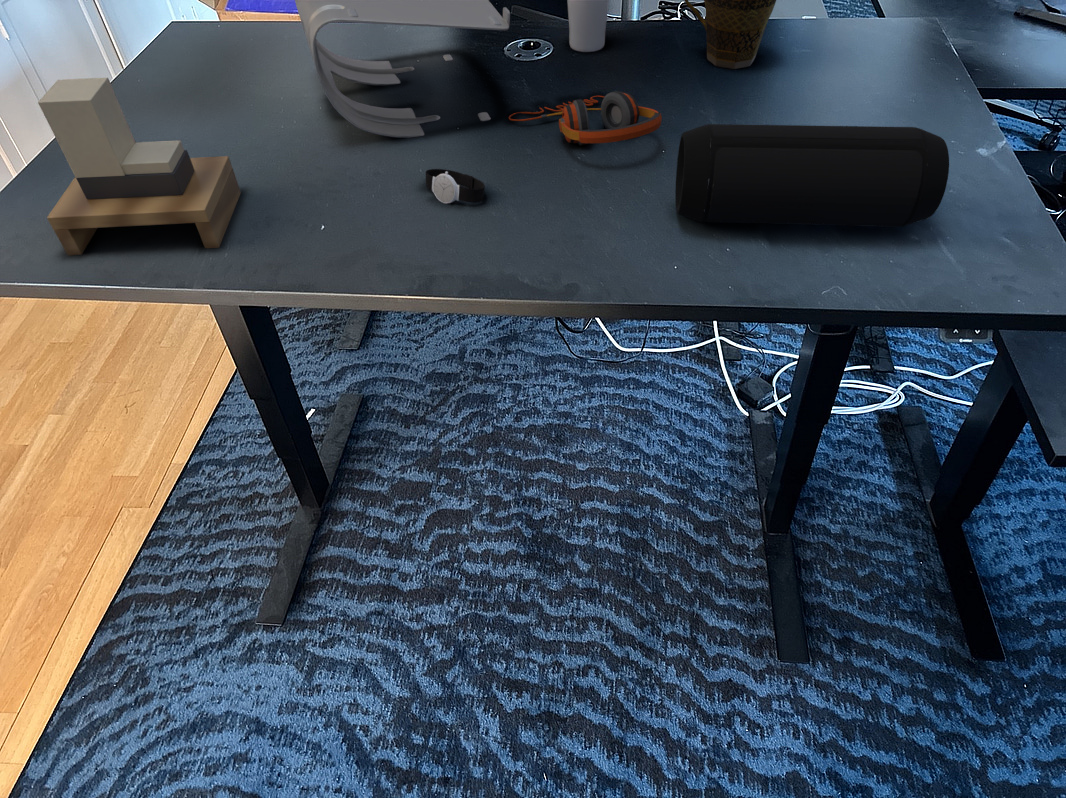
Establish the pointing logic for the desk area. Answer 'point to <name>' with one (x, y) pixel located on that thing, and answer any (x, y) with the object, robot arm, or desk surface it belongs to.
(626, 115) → the headphones
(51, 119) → the shoe
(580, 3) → the white tapered cylinder
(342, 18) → the laptop stand
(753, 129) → the portable speaker
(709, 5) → the ceramic cup
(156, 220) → the display stand
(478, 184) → the watch
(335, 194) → the desk surface
